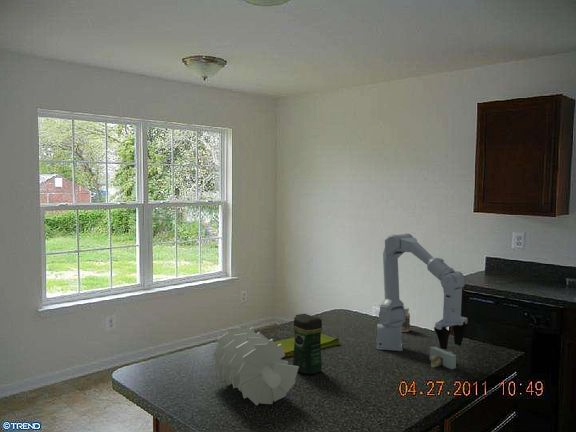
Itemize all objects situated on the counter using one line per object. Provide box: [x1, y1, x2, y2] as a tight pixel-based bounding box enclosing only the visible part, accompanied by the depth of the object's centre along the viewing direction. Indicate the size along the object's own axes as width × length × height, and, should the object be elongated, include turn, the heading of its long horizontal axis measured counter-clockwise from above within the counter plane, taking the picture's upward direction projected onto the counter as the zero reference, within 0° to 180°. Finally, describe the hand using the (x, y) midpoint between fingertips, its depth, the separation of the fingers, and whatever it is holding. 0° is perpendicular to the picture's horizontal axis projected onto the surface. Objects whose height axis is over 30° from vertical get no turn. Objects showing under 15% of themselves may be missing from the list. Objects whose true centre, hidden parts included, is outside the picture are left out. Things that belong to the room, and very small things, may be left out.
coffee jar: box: [292, 313, 323, 375], centre depth 160 cm, size 10×8×19 cm
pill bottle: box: [402, 306, 411, 333], centre depth 207 cm, size 6×6×10 cm
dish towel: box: [273, 333, 340, 360], centre depth 183 cm, size 15×36×3 cm, turn 125°
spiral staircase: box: [212, 324, 299, 406], centre depth 142 cm, size 18×18×25 cm
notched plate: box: [429, 346, 457, 370], centre depth 168 cm, size 10×2×4 cm, turn 29°
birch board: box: [430, 351, 454, 368], centre depth 168 cm, size 10×1×4 cm, turn 124°
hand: (450, 346), depth 164 cm, fingers open, 7 cm apart
